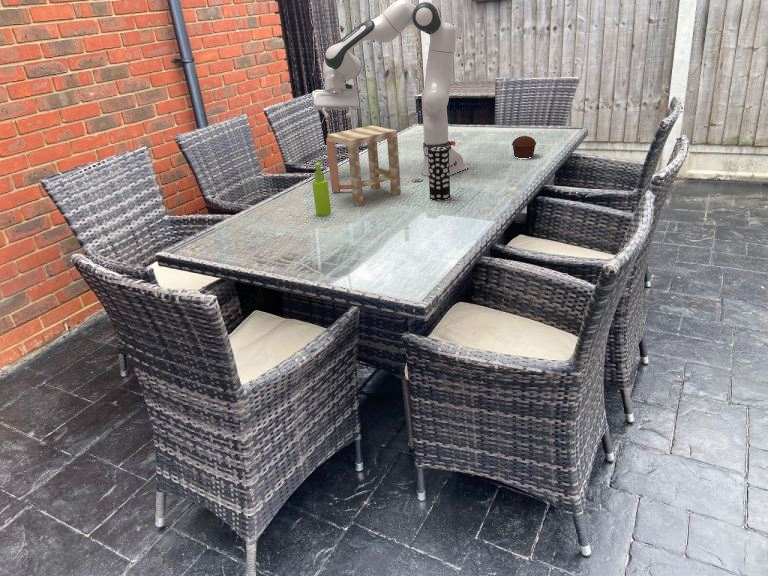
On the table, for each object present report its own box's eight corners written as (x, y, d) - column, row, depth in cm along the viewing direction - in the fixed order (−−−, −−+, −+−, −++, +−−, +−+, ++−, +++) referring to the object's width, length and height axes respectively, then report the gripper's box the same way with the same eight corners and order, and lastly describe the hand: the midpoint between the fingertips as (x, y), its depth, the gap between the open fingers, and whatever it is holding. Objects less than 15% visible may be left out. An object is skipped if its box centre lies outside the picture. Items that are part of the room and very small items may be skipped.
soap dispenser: (334, 210, 234) (328, 160, 225) (327, 216, 228) (321, 165, 219) (321, 209, 236) (315, 160, 227) (313, 215, 230) (307, 165, 221)
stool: (376, 185, 260) (371, 125, 249) (400, 193, 247) (396, 130, 235) (334, 197, 250) (327, 134, 238) (357, 206, 236) (351, 140, 224)
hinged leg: (361, 189, 255) (357, 136, 245) (360, 191, 252) (355, 138, 242) (333, 190, 257) (327, 137, 247) (332, 192, 255) (325, 139, 244)
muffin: (532, 153, 291) (533, 133, 287) (538, 159, 281) (539, 138, 277) (508, 155, 291) (509, 135, 287) (514, 161, 281) (514, 140, 277)
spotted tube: (449, 201, 234) (447, 151, 225) (428, 201, 236) (426, 151, 227) (451, 194, 241) (450, 146, 232) (431, 194, 243) (429, 146, 234)
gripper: (311, 85, 256) (314, 113, 253) (357, 85, 260) (361, 113, 257) (311, 93, 262) (313, 121, 259) (356, 93, 266) (359, 121, 263)
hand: (337, 117), depth 258 cm, fingers open, 8 cm apart
